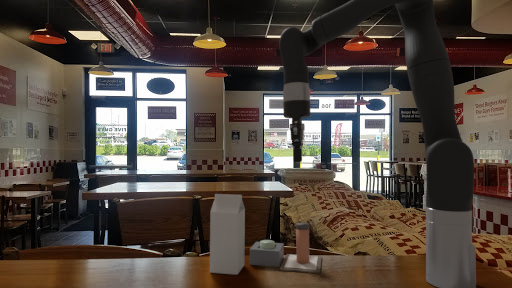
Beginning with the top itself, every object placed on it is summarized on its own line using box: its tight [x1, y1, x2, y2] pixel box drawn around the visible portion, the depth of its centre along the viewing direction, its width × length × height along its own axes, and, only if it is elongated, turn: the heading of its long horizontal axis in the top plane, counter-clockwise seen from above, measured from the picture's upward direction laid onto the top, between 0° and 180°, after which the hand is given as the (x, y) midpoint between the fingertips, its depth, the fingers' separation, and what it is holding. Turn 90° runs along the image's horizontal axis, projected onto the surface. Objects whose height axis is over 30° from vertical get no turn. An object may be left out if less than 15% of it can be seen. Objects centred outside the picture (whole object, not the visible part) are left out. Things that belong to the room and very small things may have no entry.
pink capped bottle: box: [295, 222, 310, 263], centre depth 92 cm, size 4×4×10 cm
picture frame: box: [279, 253, 323, 275], centre depth 92 cm, size 10×13×1 cm
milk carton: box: [209, 193, 246, 275], centre depth 88 cm, size 7×7×19 cm
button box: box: [248, 241, 285, 268], centre depth 95 cm, size 8×8×4 cm
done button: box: [259, 239, 276, 249], centre depth 95 cm, size 4×4×5 cm
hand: (297, 161), depth 97 cm, fingers closed
